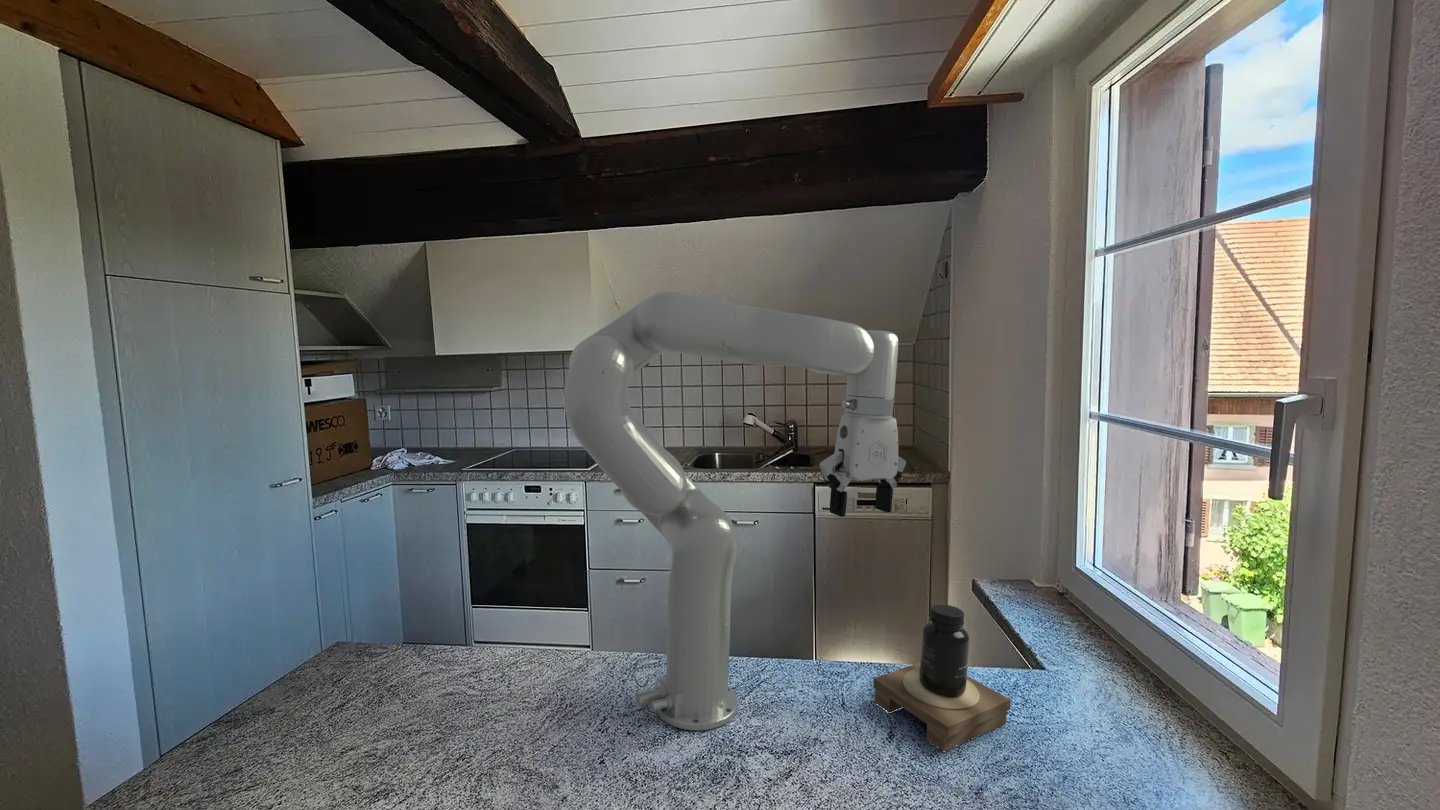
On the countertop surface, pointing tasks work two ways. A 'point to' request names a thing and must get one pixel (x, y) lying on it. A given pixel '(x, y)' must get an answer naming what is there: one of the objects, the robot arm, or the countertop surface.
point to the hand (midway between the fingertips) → (860, 512)
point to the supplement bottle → (944, 652)
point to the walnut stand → (943, 706)
